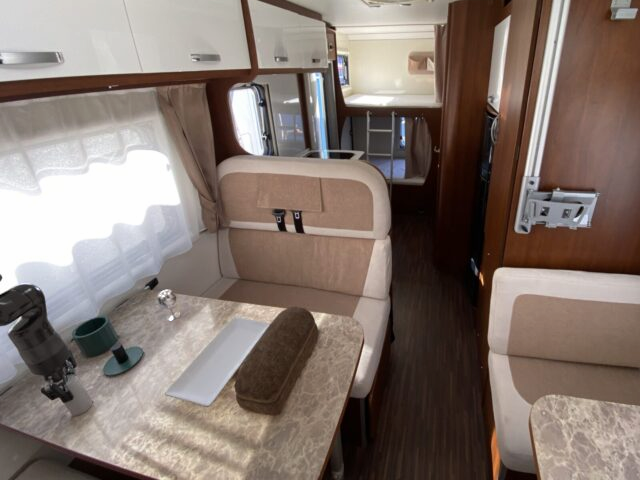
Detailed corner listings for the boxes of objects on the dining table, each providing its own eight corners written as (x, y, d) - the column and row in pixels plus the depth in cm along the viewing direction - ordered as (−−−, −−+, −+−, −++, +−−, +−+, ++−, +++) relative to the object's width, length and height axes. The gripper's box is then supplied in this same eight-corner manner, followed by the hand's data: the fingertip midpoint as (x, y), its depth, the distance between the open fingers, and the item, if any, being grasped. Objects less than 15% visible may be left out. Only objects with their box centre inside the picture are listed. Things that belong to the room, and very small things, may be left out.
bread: (233, 413, 88) (219, 376, 82) (287, 327, 116) (280, 294, 110) (278, 423, 85) (268, 385, 79) (323, 332, 113) (317, 299, 107)
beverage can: (95, 405, 92) (78, 378, 87) (75, 420, 88) (55, 393, 83) (90, 397, 94) (73, 370, 89) (69, 411, 90) (51, 384, 86)
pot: (79, 362, 106) (67, 342, 102) (87, 341, 114) (76, 323, 110) (115, 348, 111) (104, 329, 107) (120, 330, 119) (111, 311, 115)
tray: (273, 329, 116) (271, 322, 114) (211, 414, 88) (208, 406, 86) (236, 322, 120) (234, 315, 118) (166, 401, 92) (162, 393, 90)
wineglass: (167, 313, 126) (158, 290, 121) (183, 309, 128) (174, 286, 123) (163, 323, 121) (153, 300, 116) (180, 319, 123) (170, 296, 118)
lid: (100, 383, 98) (90, 367, 95) (108, 357, 107) (99, 342, 104) (141, 366, 103) (133, 350, 100) (145, 343, 112) (138, 328, 109)
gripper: (36, 338, 86) (63, 379, 92) (11, 379, 74) (44, 422, 81) (71, 327, 89) (95, 367, 96) (53, 364, 78) (81, 407, 84)
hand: (72, 392), depth 88 cm, fingers closed on beverage can, 5 cm apart
